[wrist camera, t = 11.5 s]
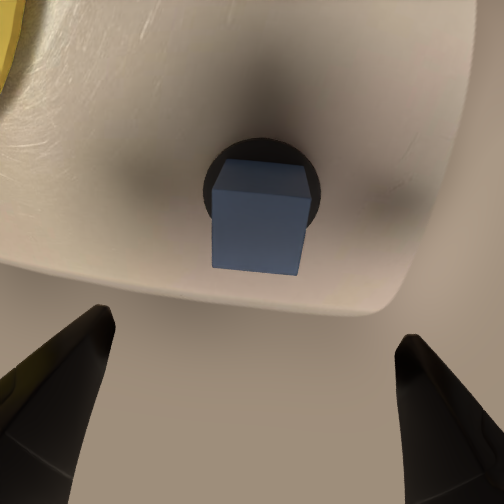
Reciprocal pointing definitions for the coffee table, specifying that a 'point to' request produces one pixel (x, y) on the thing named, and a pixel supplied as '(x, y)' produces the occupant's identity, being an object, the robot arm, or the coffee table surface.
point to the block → (259, 216)
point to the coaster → (265, 153)
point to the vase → (9, 34)
